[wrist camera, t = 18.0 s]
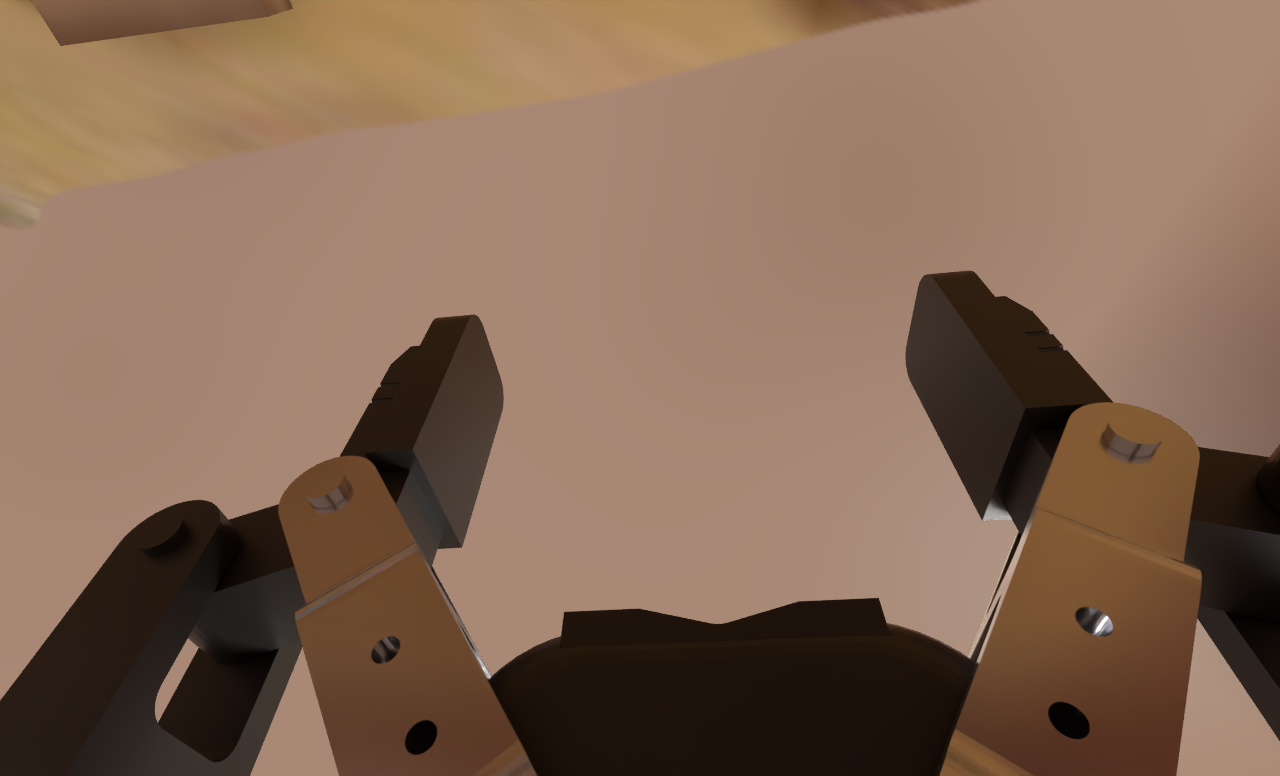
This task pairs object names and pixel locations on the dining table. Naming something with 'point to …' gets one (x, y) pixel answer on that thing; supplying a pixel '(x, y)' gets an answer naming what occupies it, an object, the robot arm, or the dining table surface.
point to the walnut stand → (144, 16)
